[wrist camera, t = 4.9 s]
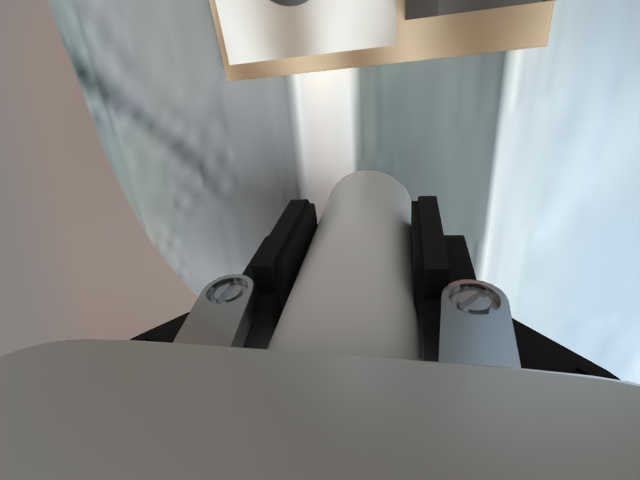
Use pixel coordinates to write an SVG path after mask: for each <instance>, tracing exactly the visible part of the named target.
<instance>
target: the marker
mask: <svg viewBox="0 0 640 480" xmlns="http://www.w3.org/2000/svg"><path fill="white" fill-rule="evenodd" d="M267 350H281V351H295V352H309V353H323V354H337V355H351V356H365V357H379V358H393V359H407V360H420V359H419V339H418V319H417V311H416V307H415V305H414V288H413V263H412V238H411V199H410V196H409V194H408V192H407V190H406V189H405V187H404V186H403V185H402V184H401V183H400V182H399V181H398V180H397V179H395V178H394V177H392V176H390V175H388V174H386V173H383V172H379V171H373V170H365V171H359V172H355V173H352V174H350V175H348V176H346V177H345V178H343V179H342V180H341V181H340V182H338V183H337V185H336V186H335V187H334V189H333V190H332V192H331V195H330V197H329V199H328V202H327V204H326V207H325V209H324V212H323V214H322V217H321V219H320V221H319V224H318V226H317V229H316V231H315V234H314V236H313V239H312V241H311V243H310V246H309V248H308V251H307V253H306V256H305V258H304V261H303V263H302V265H301V268H300V270H299V273H298V275H297V278H296V280H295V283H294V285H293V287H292V290H291V292H290V295H289V297H288V300H287V302H286V305H285V307H284V309H283V312H282V314H281V317H280V319H279V322H278V324H277V327H276V329H275V331H274V334H273V336H272V339H271V341H270V344H269V346H268V349H267Z"/></svg>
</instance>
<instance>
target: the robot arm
mask: <svg viewBox="0 0 640 480" xmlns="http://www.w3.org/2000/svg"><path fill="white" fill-rule="evenodd" d="M317 226H318V225H317V218H316V211H315V205H314V204H313V203H309V201H308V200H307V199H302V200H291V201H290V202H289V204H288V206H287V207H286V209H285V211H284V212H283V214H282V216H281V217H280V219H279V220H278V222H277V224H276V225H275V227H274V229H273V230H272V232H271V233H270V235H269V236H267V237H266V238H265V239H264V240H263V242H262V244H261V245H260V247H259V248H258V250H257V252H256V253H255V255H254V256H253V258H252V259H251V261H250V263H249V264H248V266H247V267H246V269H245V271H244V272H243V274H242V275H241V274H232V275H226V276H223V277H220V278H218V279H216V280H214V281H212V282H211V283H209V284H208V285H207V286H206V287H205V288H204V289H203V290H202V292H201V294H200V295H199V297H198V299H197V301H196V302H195V304H194V306H193V308H192V309H191V311H190V312H188V313H186V314H184V315H182V316H179V317H177V318H175V319H173V320H171V321H168V322H166V323H164V324H162V325H160V326H158V327H155V328H153V329H151V330H149V331H147V332H145V333H142V334H140V335H138V336H136V337H134V338H132V339H130V340H109V339H78V340H64V341H56V342H49V343H44V344H39V345H36V346H31V347H28V348H24V349H20V350H17V351H14V352H11V353H9V354H6V355H3V356H1V357H0V480H640V384H636V383H632V382H628V381H622V380H620V379H619V378H618V377H616V376H615V375H613V374H612V373H610V372H609V371H607V370H605V369H603V368H602V367H600V366H598V365H596V364H594V363H593V362H591V361H589V360H587V359H585V358H583V357H582V356H580V355H578V354H576V353H574V352H573V351H571V350H569V349H567V348H565V347H564V346H562V345H560V344H558V343H556V342H555V341H553V340H551V339H549V338H547V337H545V336H544V335H542V334H540V333H538V332H536V331H535V330H533V329H531V328H529V327H527V326H526V325H524V324H522V323H520V322H518V321H516V320H515V319H513V318H512V317H511V311H510V306H509V301H508V299H507V297H506V295H505V294H504V293H503V292H502V291H501V290H500V289H499V288H497V287H495V286H494V285H492V284H489V283H486V282H484V281H479V280H476V277H475V273H474V269H473V266H472V262H471V259H470V255H469V252H468V248H467V245H466V241H465V238H464V236H463V235H444V234H443V229H442V224H441V218H440V213H439V208H438V203H437V197H436V196H418V201H411V238H412V263H413V288H414V305H415V307H416V311H417V319H418V339H419V359H421V361H420V360H407V359H393V358H379V357H365V356H351V355H337V354H323V353H309V352H295V351H281V350H267V349H268V346H269V344H270V341H271V339H272V336H273V334H274V331H275V329H276V327H277V324H278V322H279V319H280V317H281V314H282V312H283V309H284V307H285V305H286V302H287V300H288V297H289V295H290V292H291V290H292V287H293V285H294V283H295V280H296V278H297V275H298V273H299V270H300V268H301V265H302V263H303V261H304V258H305V256H306V253H307V251H308V248H309V246H310V243H311V241H312V239H313V236H314V234H315V231H316V229H317Z"/></svg>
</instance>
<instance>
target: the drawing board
mask: <svg viewBox="0 0 640 480" xmlns="http://www.w3.org/2000/svg"><path fill="white" fill-rule="evenodd" d="M209 3H210V7H211V12H212V16H213V20H214V25H215V29H216V34H217V38H218V42H219V47H220V51H221V56H222V60H223V64H224V69H225V73H226V78H227V81H236V80H245V79H254V78H263V77H272V76H281V75H290V74H299V73H308V72H318V71H327V70H336V69H345V68H354V67H363V66H372V65H381V64H390V63H399V62H408V61H417V60H426V59H435V58H444V57H454V56H463V55H472V54H481V53H490V52H499V51H508V50H517V49H526V48H535V47H544V46H547V42H548V36H549V31H550V25H551V19H552V14H553V8H554V3H555V0H209Z"/></svg>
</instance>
